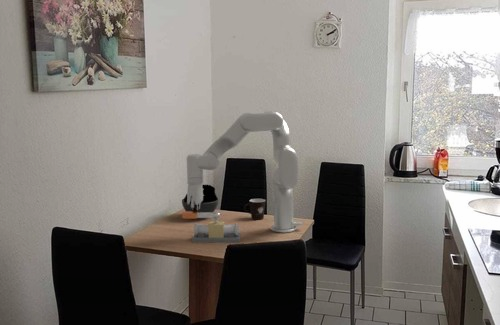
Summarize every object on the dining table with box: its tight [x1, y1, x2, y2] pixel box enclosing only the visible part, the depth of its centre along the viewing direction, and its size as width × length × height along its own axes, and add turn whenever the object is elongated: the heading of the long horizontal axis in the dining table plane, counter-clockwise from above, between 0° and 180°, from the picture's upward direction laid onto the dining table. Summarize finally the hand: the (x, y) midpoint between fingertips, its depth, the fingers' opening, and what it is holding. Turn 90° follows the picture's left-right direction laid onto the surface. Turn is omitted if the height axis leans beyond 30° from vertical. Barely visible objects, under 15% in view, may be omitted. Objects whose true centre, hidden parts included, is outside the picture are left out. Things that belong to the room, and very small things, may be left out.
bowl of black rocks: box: [181, 184, 219, 213], centre depth 294 cm, size 20×20×19 cm
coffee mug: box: [243, 198, 266, 221], centre depth 290 cm, size 12×9×10 cm
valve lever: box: [181, 210, 221, 220], centre depth 253 cm, size 3×18×3 cm, turn 84°
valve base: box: [191, 218, 242, 243], centre depth 253 cm, size 22×10×10 cm, turn 88°
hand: (196, 217), depth 258 cm, fingers closed
